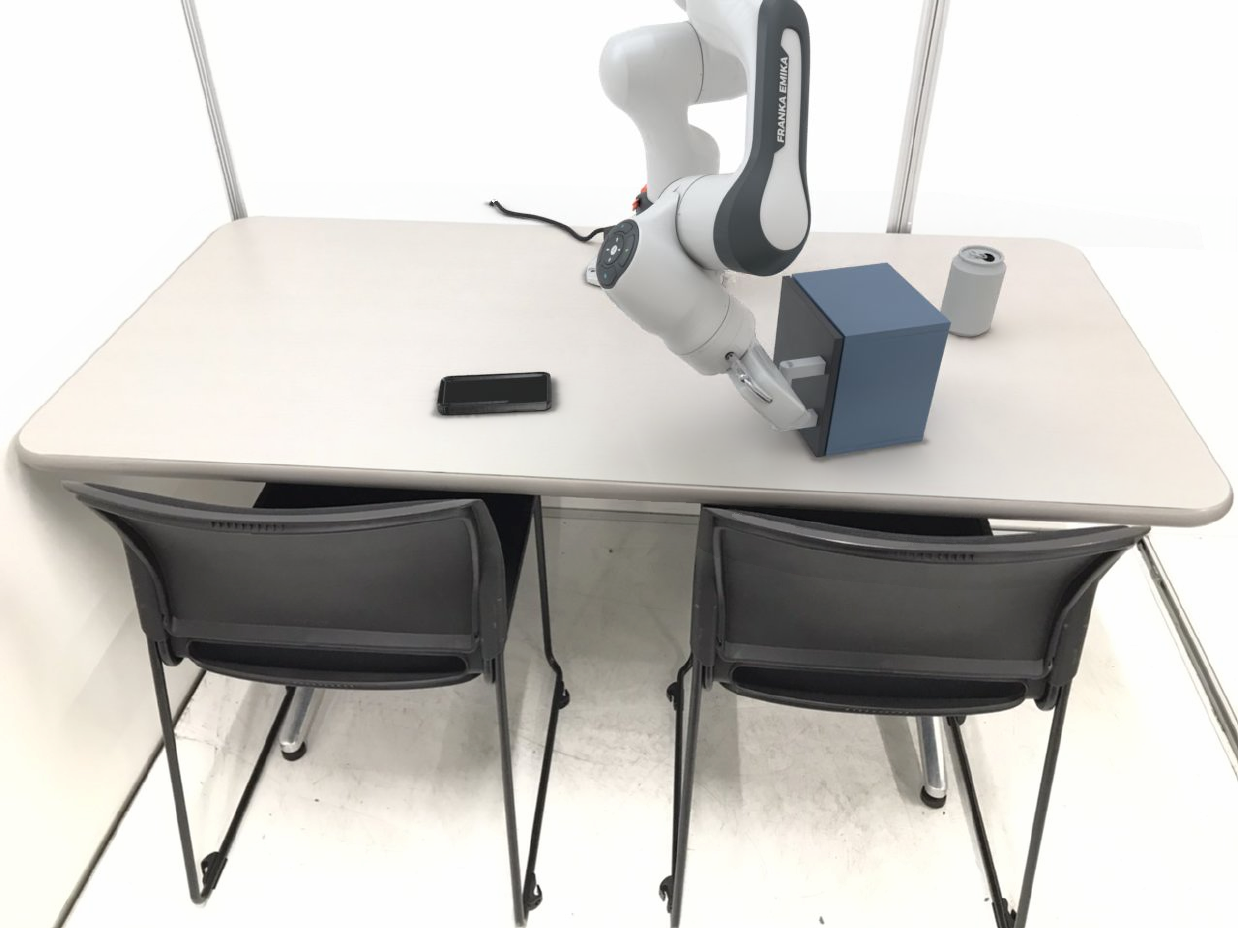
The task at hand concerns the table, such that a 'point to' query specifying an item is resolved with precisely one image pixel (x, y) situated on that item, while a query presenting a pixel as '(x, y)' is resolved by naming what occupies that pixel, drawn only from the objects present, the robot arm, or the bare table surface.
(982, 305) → the can
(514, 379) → the phone
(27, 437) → the table surface
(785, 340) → the cabinet door
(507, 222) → the table surface
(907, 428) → the blue cabinet body
